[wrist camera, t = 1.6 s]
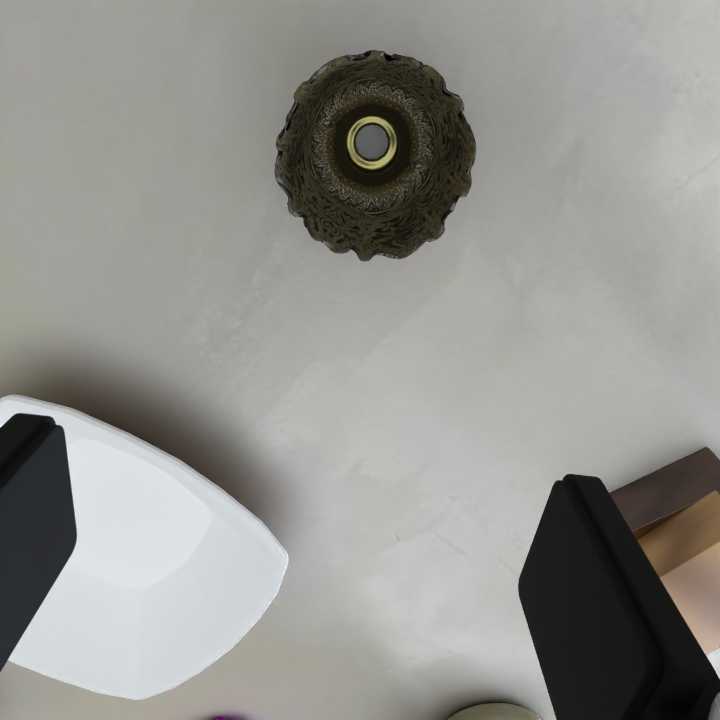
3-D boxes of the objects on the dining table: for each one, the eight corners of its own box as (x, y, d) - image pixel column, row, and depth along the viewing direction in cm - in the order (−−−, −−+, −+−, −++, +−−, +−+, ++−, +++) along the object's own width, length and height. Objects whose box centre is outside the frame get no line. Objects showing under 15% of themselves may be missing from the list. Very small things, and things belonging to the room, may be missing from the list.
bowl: (41, 308, 32) (-14, 348, 27) (337, 499, 38) (334, 558, 33) (-95, 529, 39) (-156, 590, 35) (171, 658, 46) (149, 724, 41)
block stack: (709, 442, 36) (776, 512, 30) (755, 534, 39) (823, 612, 34) (573, 507, 38) (611, 583, 33) (628, 587, 42) (670, 669, 36)
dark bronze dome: (345, 22, 26) (339, 1, 18) (476, 113, 27) (517, 126, 20) (271, 169, 28) (241, 199, 21) (393, 243, 30) (403, 294, 23)
